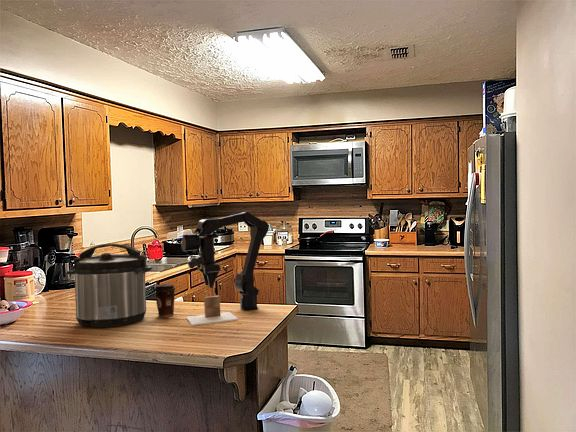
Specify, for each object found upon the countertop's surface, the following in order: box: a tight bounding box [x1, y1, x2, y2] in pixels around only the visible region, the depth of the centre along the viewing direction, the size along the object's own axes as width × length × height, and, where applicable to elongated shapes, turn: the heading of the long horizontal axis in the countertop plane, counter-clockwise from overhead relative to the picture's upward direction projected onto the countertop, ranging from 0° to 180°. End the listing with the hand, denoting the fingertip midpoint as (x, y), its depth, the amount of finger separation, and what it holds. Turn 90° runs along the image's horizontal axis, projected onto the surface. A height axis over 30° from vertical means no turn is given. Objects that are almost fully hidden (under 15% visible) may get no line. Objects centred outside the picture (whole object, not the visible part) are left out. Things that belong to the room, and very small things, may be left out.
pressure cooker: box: [66, 243, 153, 328], centre depth 196 cm, size 30×28×32 cm
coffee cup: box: [153, 283, 176, 318], centre depth 202 cm, size 9×8×13 cm
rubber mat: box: [185, 311, 239, 327], centre depth 192 cm, size 18×14×1 cm
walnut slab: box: [203, 295, 221, 318], centre depth 194 cm, size 6×2×8 cm, turn 111°
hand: (208, 286), depth 199 cm, fingers open, 8 cm apart
